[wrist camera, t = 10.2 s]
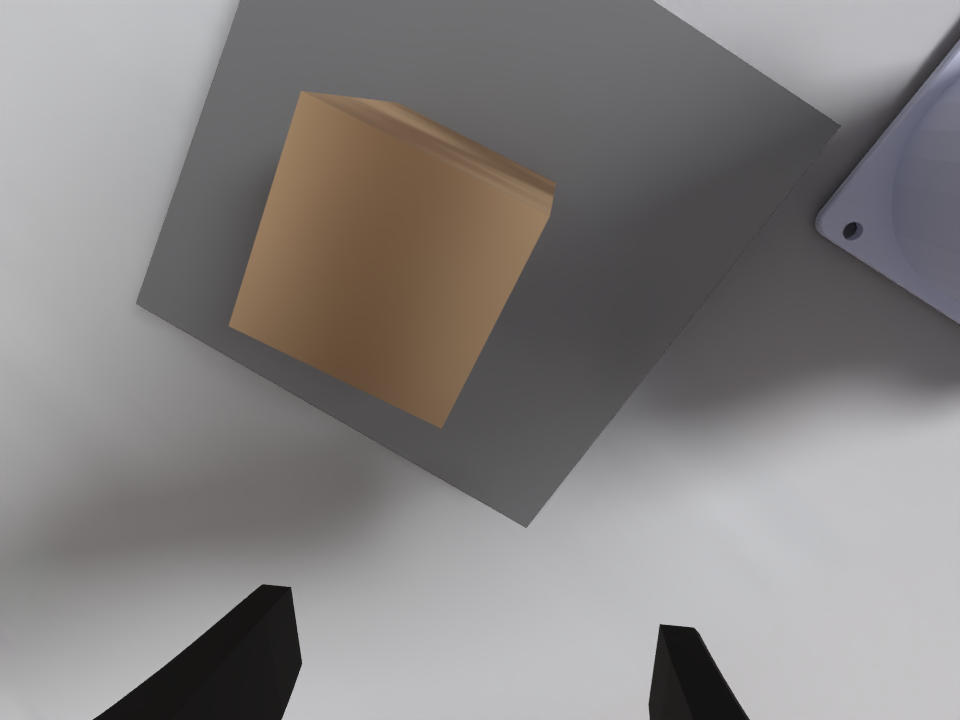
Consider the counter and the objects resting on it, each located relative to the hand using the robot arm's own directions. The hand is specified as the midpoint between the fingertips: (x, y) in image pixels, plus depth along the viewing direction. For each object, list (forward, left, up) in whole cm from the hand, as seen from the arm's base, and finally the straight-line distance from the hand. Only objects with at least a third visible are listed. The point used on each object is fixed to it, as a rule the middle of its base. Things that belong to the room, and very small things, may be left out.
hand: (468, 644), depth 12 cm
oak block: (+5, -5, -7) cm, 10 cm away
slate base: (+5, -5, -10) cm, 13 cm away
